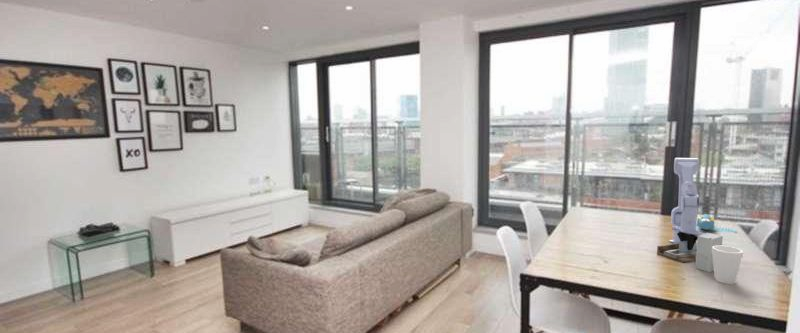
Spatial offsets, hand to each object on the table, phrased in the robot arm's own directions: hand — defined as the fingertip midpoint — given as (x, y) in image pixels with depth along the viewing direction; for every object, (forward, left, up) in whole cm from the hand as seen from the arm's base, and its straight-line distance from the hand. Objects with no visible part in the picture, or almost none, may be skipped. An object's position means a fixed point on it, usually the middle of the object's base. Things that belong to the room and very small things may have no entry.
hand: (687, 248), depth 186 cm
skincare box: (+7, +15, -3) cm, 17 cm away
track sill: (+2, 0, -3) cm, 4 cm away
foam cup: (+13, +26, -3) cm, 29 cm away
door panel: (0, 0, -2) cm, 2 cm away
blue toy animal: (-49, -27, -4) cm, 57 cm away
